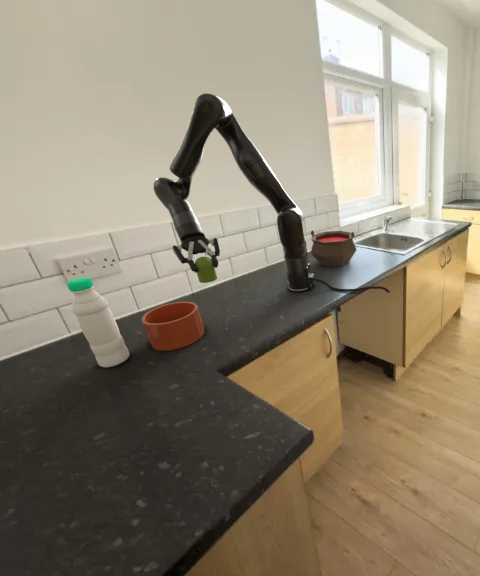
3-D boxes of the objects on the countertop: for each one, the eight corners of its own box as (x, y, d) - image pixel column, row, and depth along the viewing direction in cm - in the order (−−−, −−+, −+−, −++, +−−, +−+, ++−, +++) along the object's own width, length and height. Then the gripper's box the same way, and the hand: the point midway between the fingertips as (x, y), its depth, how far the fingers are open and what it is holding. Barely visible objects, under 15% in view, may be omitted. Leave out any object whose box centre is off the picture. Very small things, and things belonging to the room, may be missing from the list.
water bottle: (136, 355, 92) (102, 276, 82) (110, 370, 86) (70, 287, 76) (119, 351, 94) (85, 273, 84) (93, 365, 88) (52, 283, 78)
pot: (212, 324, 108) (205, 300, 104) (190, 349, 94) (182, 323, 91) (168, 326, 107) (160, 302, 104) (140, 352, 94) (129, 326, 90)
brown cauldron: (364, 256, 170) (362, 225, 163) (349, 272, 149) (347, 238, 142) (322, 253, 175) (319, 224, 168) (302, 269, 154) (298, 236, 147)
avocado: (220, 276, 112) (214, 254, 108) (213, 282, 107) (206, 259, 103) (203, 276, 112) (197, 254, 108) (196, 283, 107) (189, 260, 103)
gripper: (162, 225, 102) (181, 269, 99) (210, 217, 111) (229, 258, 107) (165, 238, 108) (182, 280, 105) (210, 230, 117) (228, 268, 113)
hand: (206, 268), depth 106 cm, fingers closed on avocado, 5 cm apart
